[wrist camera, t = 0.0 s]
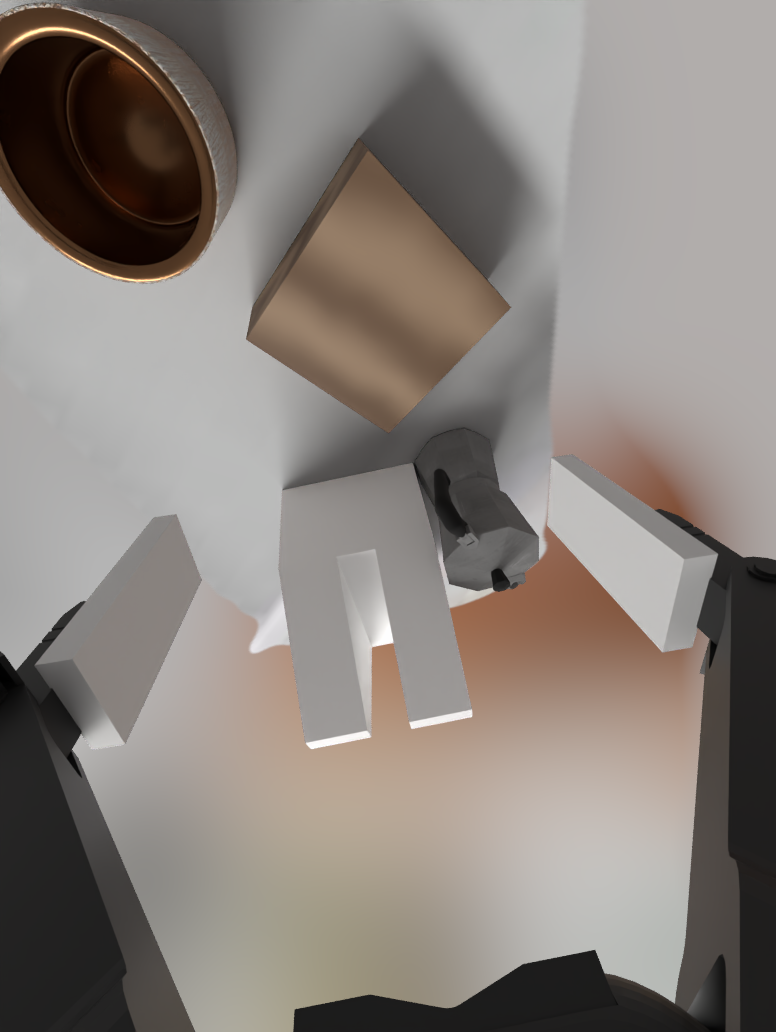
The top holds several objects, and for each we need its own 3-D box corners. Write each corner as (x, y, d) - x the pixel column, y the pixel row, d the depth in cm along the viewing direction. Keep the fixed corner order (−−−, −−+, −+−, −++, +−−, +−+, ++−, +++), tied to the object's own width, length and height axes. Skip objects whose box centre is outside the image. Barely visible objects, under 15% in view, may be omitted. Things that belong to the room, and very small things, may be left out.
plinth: (358, 137, 29) (368, 150, 25) (487, 280, 37) (510, 307, 33) (252, 307, 36) (246, 339, 32) (380, 398, 44) (388, 433, 40)
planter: (32, 165, 28) (-50, 197, 22) (72, -49, 23) (-22, -95, 16) (202, 272, 34) (178, 323, 27) (267, 121, 28) (257, 139, 22)
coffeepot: (513, 470, 53) (577, 593, 41) (448, 509, 57) (489, 634, 44) (448, 383, 44) (507, 510, 31) (375, 436, 47) (401, 570, 35)
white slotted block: (282, 489, 51) (272, 709, 33) (412, 462, 50) (470, 669, 33) (324, 582, 65) (333, 771, 47) (426, 561, 64) (473, 744, 47)
